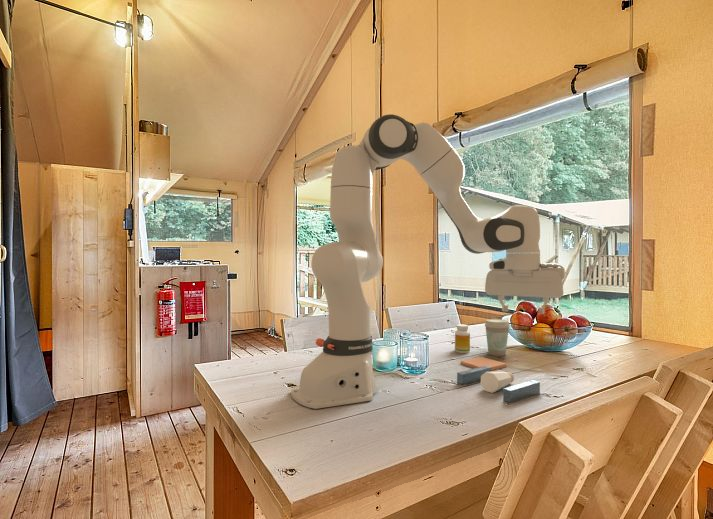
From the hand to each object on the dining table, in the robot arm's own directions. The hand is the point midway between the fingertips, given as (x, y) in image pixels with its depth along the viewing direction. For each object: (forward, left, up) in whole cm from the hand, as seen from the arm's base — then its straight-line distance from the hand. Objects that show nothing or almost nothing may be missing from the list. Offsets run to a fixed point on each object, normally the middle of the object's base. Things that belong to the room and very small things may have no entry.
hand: (522, 312), depth 109 cm
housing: (-11, 0, -20) cm, 22 cm away
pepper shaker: (-15, -1, -17) cm, 23 cm away
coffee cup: (+19, +23, -20) cm, 36 cm away
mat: (+3, +16, -20) cm, 25 cm away
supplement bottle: (+11, +32, -20) cm, 39 cm away
